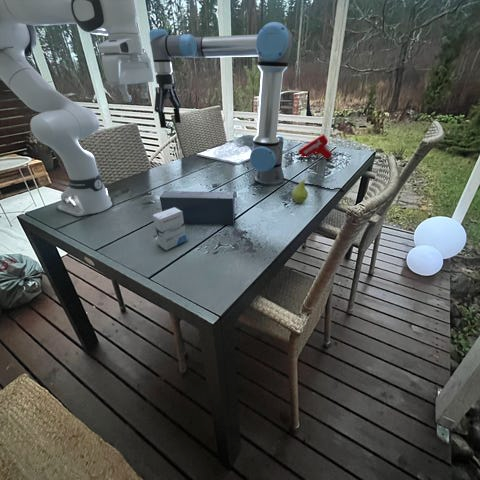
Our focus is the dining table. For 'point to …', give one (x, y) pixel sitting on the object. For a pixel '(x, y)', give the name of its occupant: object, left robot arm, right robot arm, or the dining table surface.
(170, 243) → the ink box
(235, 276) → the dining table surface
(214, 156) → the relief map
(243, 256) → the dining table surface
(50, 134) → the left robot arm
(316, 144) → the toy gun
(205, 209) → the box
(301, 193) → the fruit
